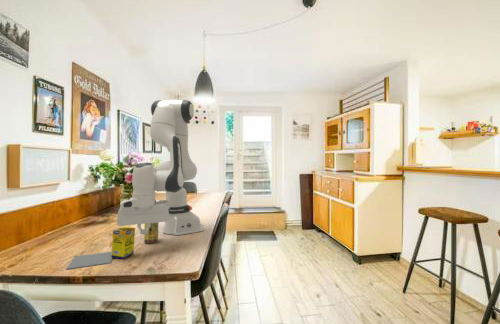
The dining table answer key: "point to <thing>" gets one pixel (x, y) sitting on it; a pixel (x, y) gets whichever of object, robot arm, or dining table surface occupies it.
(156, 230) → the sauce bottle
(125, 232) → the supplement box
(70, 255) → the dining table surface
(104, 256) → the slate pad
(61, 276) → the dining table surface
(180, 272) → the dining table surface
